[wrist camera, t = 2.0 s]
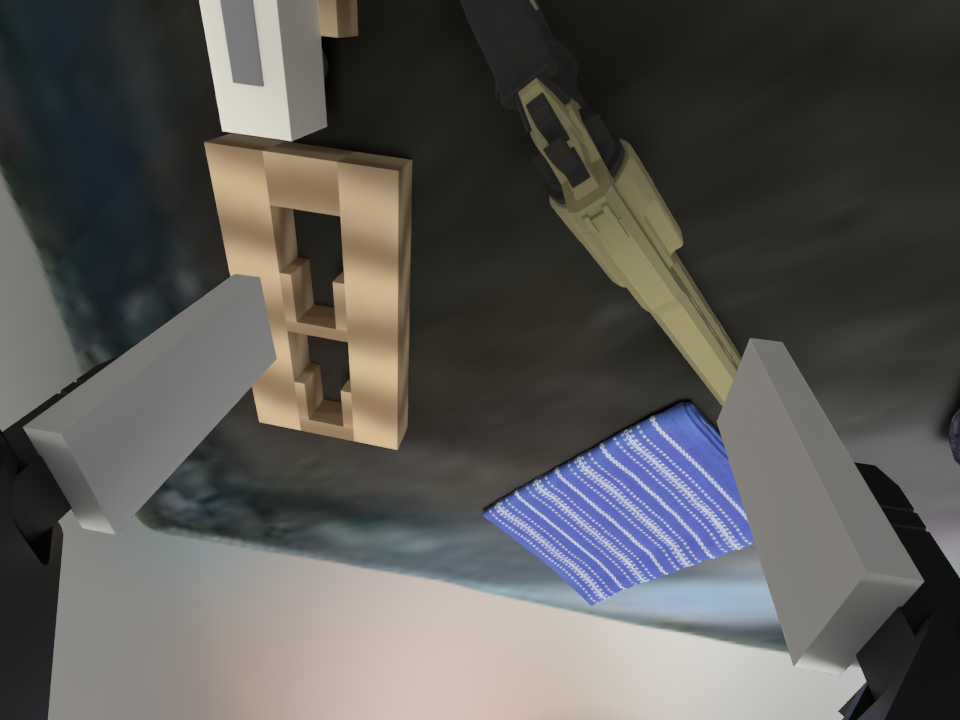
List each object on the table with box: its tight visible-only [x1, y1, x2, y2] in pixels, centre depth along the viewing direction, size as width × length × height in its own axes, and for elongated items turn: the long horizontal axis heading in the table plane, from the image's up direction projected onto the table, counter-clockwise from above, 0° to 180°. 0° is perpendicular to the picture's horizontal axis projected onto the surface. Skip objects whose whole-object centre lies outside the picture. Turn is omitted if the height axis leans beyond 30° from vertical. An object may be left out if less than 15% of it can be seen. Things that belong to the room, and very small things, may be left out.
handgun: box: [460, 0, 742, 407], centre depth 30 cm, size 4×30×16 cm, turn 37°
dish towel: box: [482, 402, 755, 605], centre depth 48 cm, size 17×24×3 cm
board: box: [204, 134, 412, 450], centre depth 41 cm, size 24×13×3 cm, turn 175°
